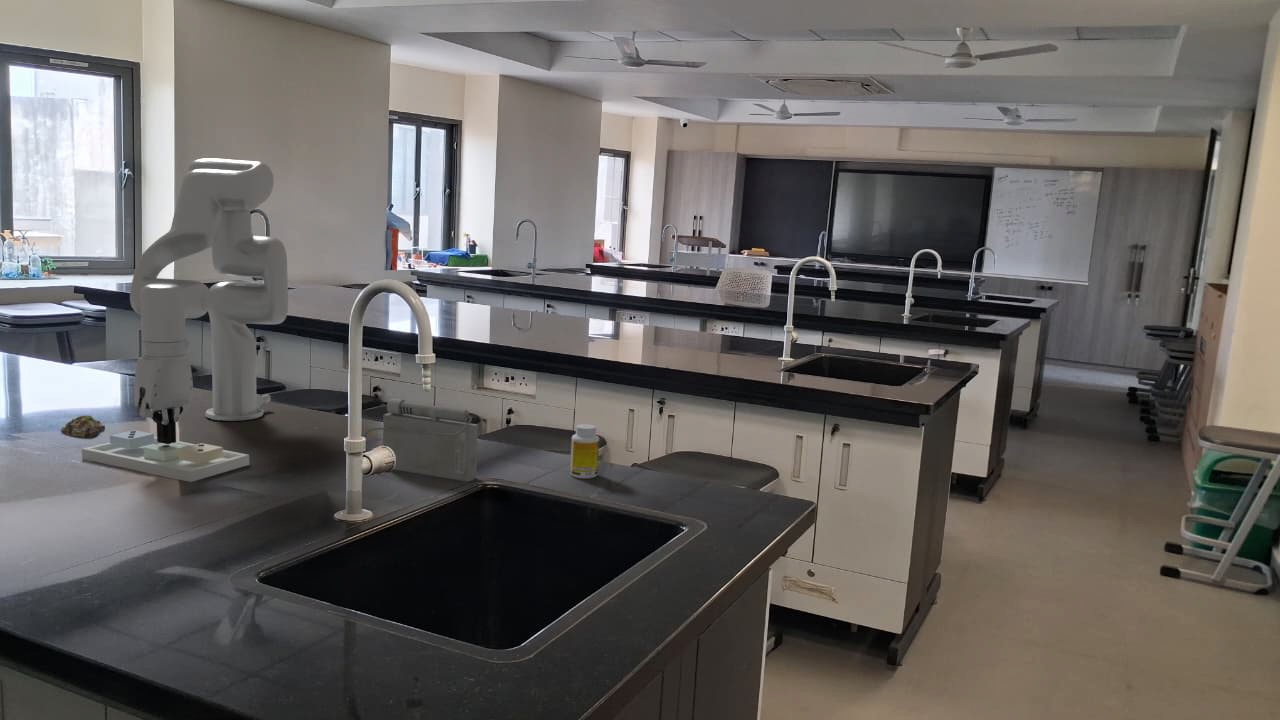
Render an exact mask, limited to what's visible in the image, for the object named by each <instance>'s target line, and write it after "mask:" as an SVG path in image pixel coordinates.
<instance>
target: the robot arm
mask: <svg viewBox="0 0 1280 720" xmlns="http://www.w3.org/2000/svg"><path fill="white" fill-rule="evenodd" d="M274 180H275V179H274V174H273V171H272V170H271V167H270V166H269V165H268V164H266V163H265V162H262V161H258V160H257V161H256V160H255V161H254V160H241V159H231V158H230V159H229V158H228V159H227V158H210V157H209V158H207V157H206V158H198V159H195V160H193V161H192V162H190V164H189V166H188V172H187V173H186V174H185V175H184V177H183V178H182V181H181V185H180V189H179V192H178V197H177V201H176V205H175V209H174V214H173V218H172V222H171V227H170V229H169V231H167V232H166V233H165V234H163V235H162V236H160V237H159V238H158V239H156V240H155V241H154V242H152V244H151V245H149V247H148V248H147V249H146V250H145V251H143V253H142V254H141V255H140V257H139V259H138V260H137V263H136V265H135V270H134V273H133V276H132V281H131V285H130V290H129V291H130V292H129V301H130V306H131V308H132V309H133V311H134V312H135V313H136V314H139V315H140V327H141V331H140V332H141V356H140V357H138V358H137V363H136V367H135V374H134V384H133V385H134V387H133V389H134V391H133V396H134V397H133V398H134V400H133V401H134V407H136V408H137V409H140V410H139V416H140V417H141V418H146V419H147V418H148V419H149V418H150V419H151V420H152V421H153V423H156V437H157V441H158V442H159V443H164V444H171V443H175V442H176V441H177V427H176V426H177V423H178V422H179V420H180V415H182V413H183V412H184V411H186V410H188V409H190V408H191V406H192V405H191V402H192V400H193V396H194V386H193V385H194V383H193V382H194V381H193V374H192V372H193V371H192V366H191V362H190V357H189V355H188V354H187V347H189V345H190V342H189V341H188V339H186V336H187V335H186V319H198V318H201V317H202V316H205V315H206V313H208V316H209V323H210V331H211V365H212V366H211V367H212V368H211V369H212V371H211V372H212V373H211V374H212V375H211V376H212V378H211V379H212V380H211V381H212V407H211V408H208V409H207V410H206V411H205V417H206V418H207V419H209V418H210V420H212V421H213V420H214V421H221V420H222V421H221V422H223V421H224V422H225V421H226V422H238V421H239V422H240V421H248V420H255V419H258V418H260V417H261V418H262V416H263V415H264V409H263V408H261V407H260V406H261V405H262V404H267V403H270V402H271V400H272V397H271V395H270V394H268V393H267V394H262V395H260V394H257V343H256V339H255V336H254V335H253V333H252V332H251V330H250V329H249V327H248V326H247V324H248V325H249V324H252V325H253V324H254V325H279V324H282V323H283V322H284V321H285V320H286V319H287V317H288V311H289V288H288V287H289V283H288V281H289V280H288V278H289V277H288V257H287V251H286V248H285V245H284V243H283V242H282V241H281V240H280V239H278V238H276V237H274V236H273V237H272V236H265V235H263V236H262V235H254V234H253V232H252V216H251V215H252V214H251V212H252V211H254V210H255V209H257V208H258V207H259V206H260V205H262V204H264V202H265V201H267V200H268V199H269V197H270V196H271V194H272V192H273V189H274ZM210 248H211V256H212V258H211V259H212V264H213V267H214V270H215V271H216V272H217V273H218V274H220V275H222V276H229V277H238V278H239V277H240V278H242V277H243V278H256V279H257V278H258V279H259V278H260V279H262V281H263V282H248V281H221V282H217V283H215V284H212V286H211V287H210V288H209V287H208V286H207V285H206V284H204V282H201V281H198V280H190V279H177V278H158V277H159V274H160V273H161V272H162V271H163V269H164V268H166V267H167V266H168V265H170V264H173V263H174V262H176V261H178V260H181V259H184V258H187V257H189V256H193V255H196V254H198V253H201V252H203V251H206V250H208V249H210Z"/></svg>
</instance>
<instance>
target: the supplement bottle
mask: <svg viewBox="0 0 1280 720" xmlns="http://www.w3.org/2000/svg"><path fill="white" fill-rule="evenodd" d="M596 433H597V427H596V425H593V424H588V423H586V424H585V423H584V424H583V423H581V424H577V425H576V428H575V433H574V434H573V435H572V436H571V440H570V441H571V444H570V462H569V463H570V465H569V466H570V467H569V469H570V470H569V474H570V475H571V476H572V477H573V478H576V479H582V480H585V479H586V480H587V479H593V478H596V477H597V476H598V470H599V468H598V467H599V454H600V453H599V452H600V451H599V450H600V437H599V436H598V435H597V434H596Z"/></svg>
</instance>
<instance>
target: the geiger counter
mask: <svg viewBox="0 0 1280 720" xmlns="http://www.w3.org/2000/svg"><path fill="white" fill-rule="evenodd" d="M386 410H387V411H386V412H387V413H385V414H383V415H382V418H383V419H382V422H383V423H382V427H380V426H378V427H376V426H375V427H372V428H370V429H368V430H366V431H365V433H364V434H363V435H362V437H363V436H364V437H365V438H366V437H367V435H368V434H369V433H370V432H371V431H372V432H373V431H376V430H382V446H383V445H384V446H388V447H390V448H391V449H392V450H393V451H394V453H395V455H396V466H395V469H393V470H394V471H401V472H407V473H413V474H420V475H426V476H431V477H436V478H441V479H442V478H443V479H449V480H450V479H451V480H454V481H461V482H471V481H474V480H475V479H477V465H478V464H477V463H478V461H477V460H478V458H477V457H478V432H479V430H478V429H479V428H478V427H479V425H478V424H477V423H471V422H472V420H473V417H472V416H471V415H470V414H469V411H468V410H467V409H461V408H455V407H446V406H439V405H431V404H426V403H425V404H424V403H416V402H411V401H406V400H405V399H400V398H389V399H388V400H387V404H386ZM468 419H469V420H468ZM373 448H374V447H372V448H371V447H369V446H368V445H367V444H366V447H365V449H367V450H368V451H370V450H371V449H373Z"/></svg>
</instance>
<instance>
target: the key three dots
mask: <svg viewBox="0 0 1280 720" xmlns="http://www.w3.org/2000/svg"><path fill="white" fill-rule="evenodd" d="M154 436H155V433H150V432H146V431H140V430H137V429H135V430H134V429H133V430H129V431H124V432H120V433H116V434H110V436H109V441H110V445H111V446H116V447H121V448H126V449H134V448H138V447H143V446H147V445H151V444H154Z"/></svg>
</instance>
